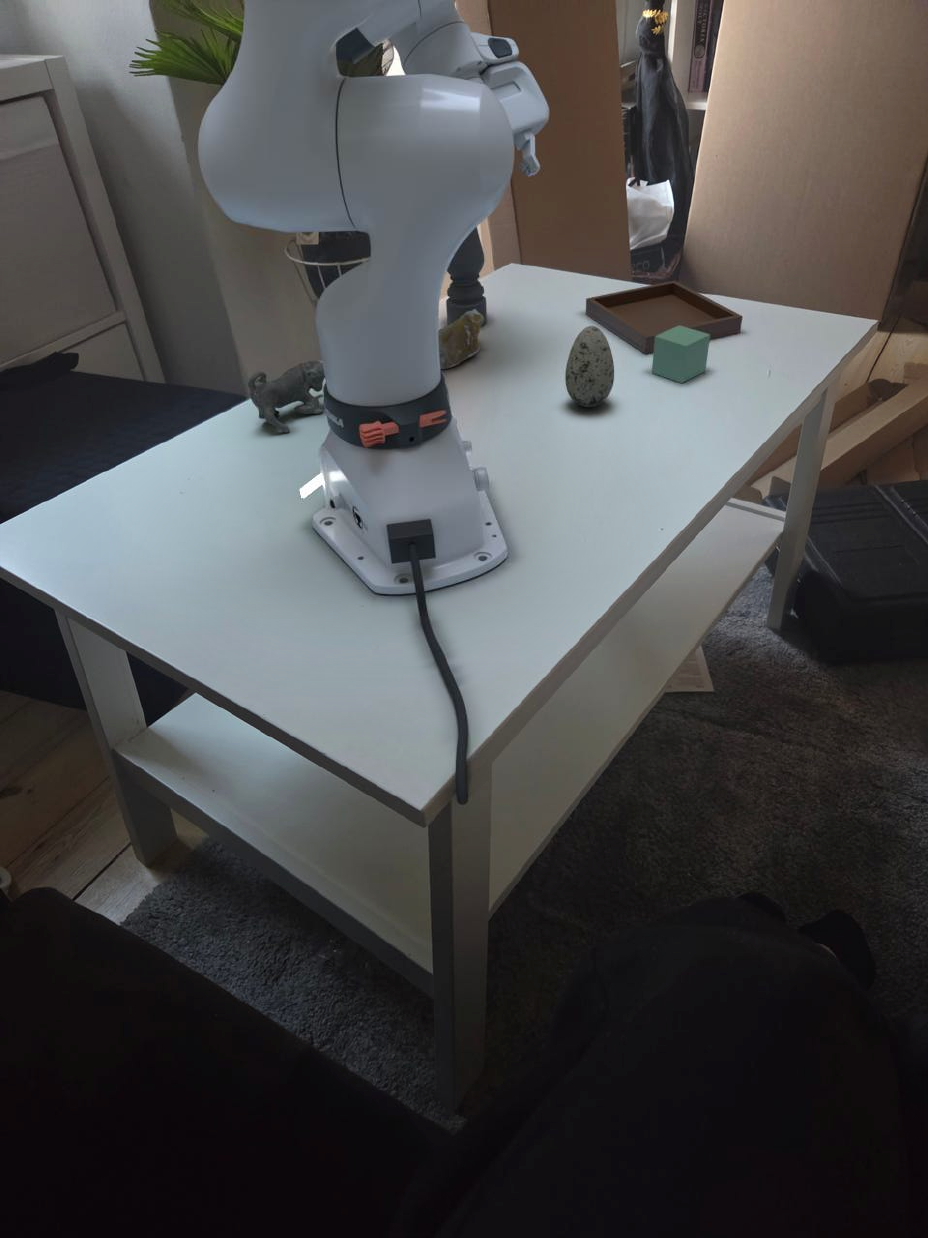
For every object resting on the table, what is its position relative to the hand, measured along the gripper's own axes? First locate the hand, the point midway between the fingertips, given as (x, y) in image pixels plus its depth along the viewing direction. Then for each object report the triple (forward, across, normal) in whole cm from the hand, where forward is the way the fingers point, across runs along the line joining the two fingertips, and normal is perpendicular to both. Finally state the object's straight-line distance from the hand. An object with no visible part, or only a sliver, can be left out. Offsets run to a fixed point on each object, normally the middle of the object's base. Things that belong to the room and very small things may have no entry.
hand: (504, 184), depth 101 cm
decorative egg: (+28, -2, +2) cm, 28 cm away
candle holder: (+8, +5, +29) cm, 30 cm away
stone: (+12, -5, +22) cm, 25 cm away
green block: (+30, +13, +1) cm, 32 cm away
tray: (+22, +24, +12) cm, 35 cm away
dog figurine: (+11, -30, +20) cm, 38 cm away
